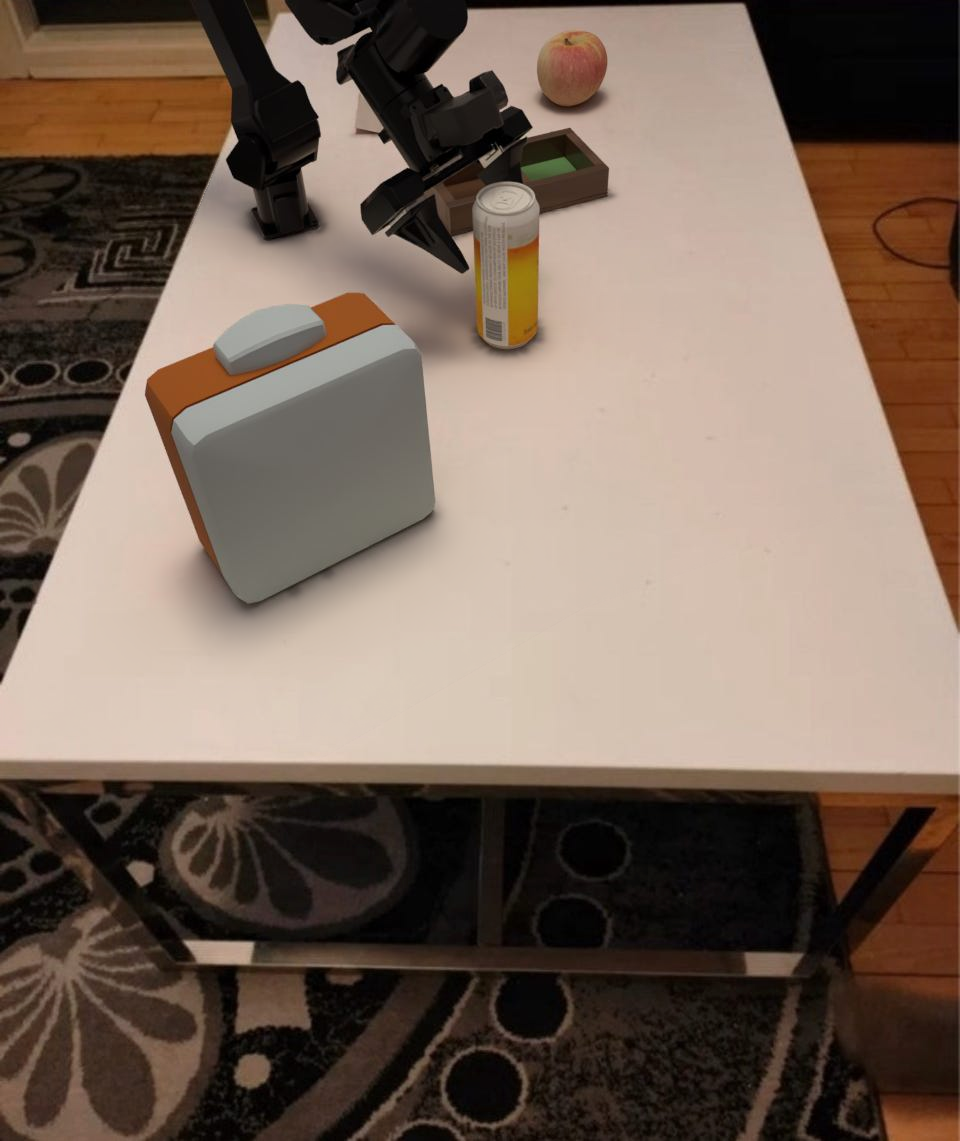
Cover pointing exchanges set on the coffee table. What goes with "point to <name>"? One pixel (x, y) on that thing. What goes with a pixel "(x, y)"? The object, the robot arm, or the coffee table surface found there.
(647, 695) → the coffee table surface
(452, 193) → the tray
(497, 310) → the beer can
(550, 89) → the apple
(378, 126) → the bracket
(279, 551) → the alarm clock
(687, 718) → the coffee table surface
